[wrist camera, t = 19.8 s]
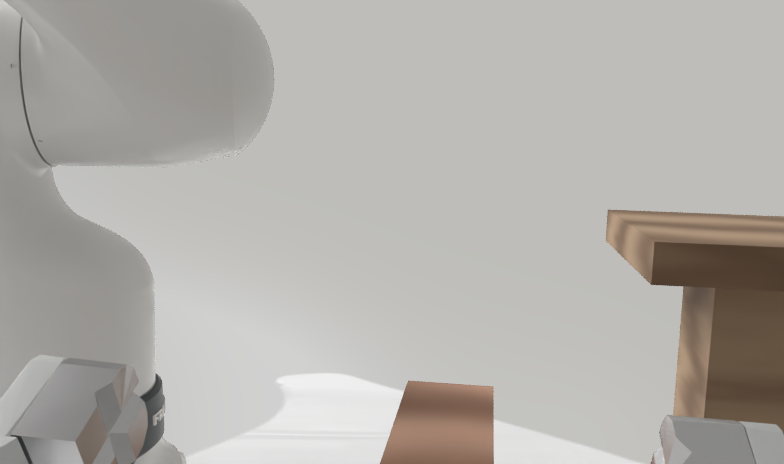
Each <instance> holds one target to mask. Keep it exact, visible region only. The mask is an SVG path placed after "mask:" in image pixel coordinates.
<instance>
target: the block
mask: <svg viewBox="0 0 784 464" xmlns="http://www.w3.org/2000/svg"><path fill="white" fill-rule="evenodd" d="M380 464H494V452H493V387H490V386H476V385H462V384H448V383H434V382H419V381H408V383H407V386H406V389H405V391H404V394H403V397H402V400H401V403H400V406H399V409H398V412H397V415H396V418H395V421H394V424H393V427H392V430H391V433H390V436H389V439H388V442H387V445H386V448H385V451H384V454H383V457H382V460H381V463H380Z"/></svg>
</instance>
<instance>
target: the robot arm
mask: <svg viewBox="0 0 784 464" xmlns="http://www.w3.org/2000/svg"><path fill="white" fill-rule="evenodd" d="M273 90H274V68H273V63H272V57H271V53H270V49H269V46H268V44H267V41H266V39H265V36H264V34H263V32H262V30H261V29H260V26H259V25H258V24H257V22H256V20H255V19H254V18H253V16H252V15H251V14H250V12H249V11H248V10H247V9H246V8H245V6H243V4H241V3H240V2H239V1H238V0H0V464H186V459H185V456H184V454H183V453H181V452H179V451H178V450H177V448H176V447H175V446H174V445H172V444H170V443H169V442H167V441H166V440H165V439H164V438H163V437H162V435H163V433H164V413H165V397H164V395H163V389H162V380H161V378H160V377H159V376H158V375H157V374H156V372H155V371H156V369H155V317H154V316H155V315H154V314H155V312H154V279H153V275H152V272H151V270H150V267H149V265H148V263H147V261H146V259H145V258H144V257H143V255H142V254H141V253H140V252H139V251H138V249H136V247H134V246H133V245H132V244H131V243H130V242H128V241H127V240H126V239H124V238H123V237H121V236H120V235H118V234H116V233H114V232H112V231H110V230H108V229H106V228H104V227H102V226H100V225H97V224H95V223H93V222H91V221H89V220H87V219H84V218H83V217H81V216H79V215H77V214H76V213H75V212H73V210H72V209H71V208H70V207H69V206H68V205H67V204H66V203H65V201H64V200H63V199H62V197H61V195H60V194H59V192H58V190H57V187H56V185H55V182H54V178H53V173H52V167H53V166H54V167H55V166H57V165H66V166H115V167H116V166H117V167H163V168H164V167H171V166H177V165H184V164H190V163H196V162H202V161H208V160H213V159H218V158H224V157H229V156H234V155H238V154H239V153H240V152H241V151H243V149H245V148H246V147H247V146H248V145H249V144H250V143H251V141H252V140H253V139H254V138H255V136H256V135H257V133H258V132H259V131H260V129H261V127H262V125H263V123H264V121H265V119H266V117H267V114H268V112H269V109H270V105H271V102H272V96H273ZM659 433H660V439H661V444H662V448H660V449H659V450H657V451H656V452H654V453H653V457H652V461H651V464H784V434H783V432H782V430H781V429H780V428H779V427H778V426H777V425H776V424H766V423H754V422H743V421H739V422H737V421H734V420H722V419H710V418H698V417H686V416H674V415H673V416H672V415H667V416H666V417H665V418H664V420H663V422H662V425H661V429H660V432H659Z"/></svg>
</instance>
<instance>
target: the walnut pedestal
mask: <svg viewBox="0 0 784 464" xmlns="http://www.w3.org/2000/svg"><path fill="white" fill-rule="evenodd" d="M606 241H607V242H608V243H609V244H610V245H611V246H612V247H613V248H614V249H615V250H616V251H617V252H618V253H619V254H620V255H621V256H622V257H623V258H624V259H625V260H626V261H627V262H628V263H629V264H630V265H631V266H632V267H633V268H635V269H636V270H637V271H638V272H639V273H640V274H641V275H642V276H643V277H644V278H645V279H646V280H647V281H648V282H649V283H650V284H651V285H667V286H668V285H669V286H684V289H683V301H682V313H681V326H680V339H679V350H678V363H677V374H676V387H675V399H674V411H673V415H674V416H686V417H698V418H710V419H722V420H734V421H737V422H739V421H743V422H754V423H766V424H776V425H777V426H778V427H779V428H780V429H781V430H782V432H783V434H784V217H780V216H755V215H728V214H703V213H702V214H701V213H678V212H651V211H626V210H608V216H607V231H606Z"/></svg>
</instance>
